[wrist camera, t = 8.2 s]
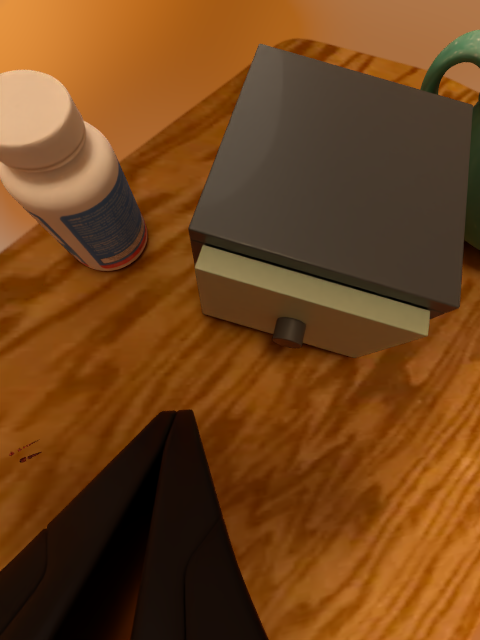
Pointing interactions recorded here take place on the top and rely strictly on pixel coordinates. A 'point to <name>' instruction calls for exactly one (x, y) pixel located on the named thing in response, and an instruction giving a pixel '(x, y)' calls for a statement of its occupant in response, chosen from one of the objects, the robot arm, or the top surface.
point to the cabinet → (342, 180)
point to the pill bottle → (66, 173)
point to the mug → (475, 50)
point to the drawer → (303, 305)
